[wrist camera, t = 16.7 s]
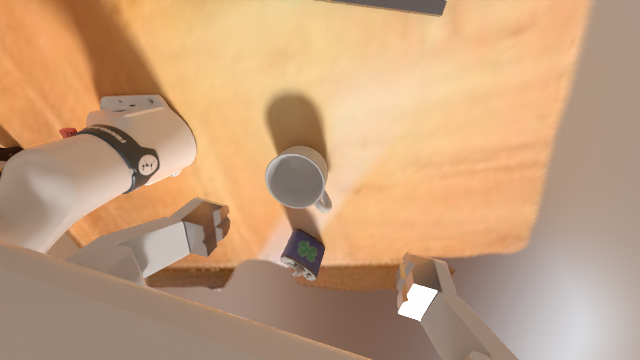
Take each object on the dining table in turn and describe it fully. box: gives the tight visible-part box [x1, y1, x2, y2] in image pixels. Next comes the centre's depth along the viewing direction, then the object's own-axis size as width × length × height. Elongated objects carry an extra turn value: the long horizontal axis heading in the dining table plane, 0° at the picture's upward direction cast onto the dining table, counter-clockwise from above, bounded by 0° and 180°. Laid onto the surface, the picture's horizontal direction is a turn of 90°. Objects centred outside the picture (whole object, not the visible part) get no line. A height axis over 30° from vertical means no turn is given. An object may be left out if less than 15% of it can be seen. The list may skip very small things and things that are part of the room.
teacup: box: [265, 146, 332, 213], centre depth 44 cm, size 14×11×8 cm
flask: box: [281, 229, 325, 281], centre depth 52 cm, size 9×3×11 cm, turn 57°
